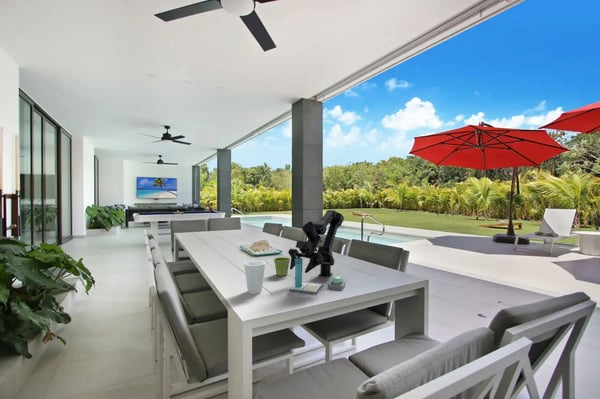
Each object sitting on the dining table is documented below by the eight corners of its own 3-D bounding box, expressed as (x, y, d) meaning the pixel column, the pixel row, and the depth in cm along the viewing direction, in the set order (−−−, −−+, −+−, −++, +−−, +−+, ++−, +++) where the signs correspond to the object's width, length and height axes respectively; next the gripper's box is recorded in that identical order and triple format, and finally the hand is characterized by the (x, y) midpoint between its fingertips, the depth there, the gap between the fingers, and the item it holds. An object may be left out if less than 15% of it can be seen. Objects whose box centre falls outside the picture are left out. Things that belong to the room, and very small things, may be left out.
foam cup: (250, 296, 124) (249, 266, 124) (241, 290, 131) (240, 262, 131) (269, 292, 129) (268, 263, 129) (259, 286, 137) (259, 259, 137)
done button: (333, 281, 140) (333, 276, 140) (342, 282, 138) (342, 276, 138) (331, 284, 135) (331, 278, 135) (340, 285, 134) (340, 279, 134)
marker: (295, 284, 136) (296, 257, 136) (303, 285, 136) (303, 258, 135) (294, 286, 133) (294, 259, 133) (301, 287, 132) (301, 259, 132)
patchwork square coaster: (298, 283, 142) (298, 280, 142) (323, 285, 138) (323, 283, 138) (288, 291, 130) (288, 289, 130) (315, 294, 126) (315, 292, 126)
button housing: (331, 283, 141) (331, 279, 141) (345, 285, 139) (345, 281, 139) (327, 288, 135) (327, 284, 135) (342, 289, 132) (342, 285, 132)
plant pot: (290, 277, 153) (289, 261, 152) (272, 277, 153) (272, 261, 153) (290, 272, 162) (290, 257, 162) (274, 272, 162) (274, 257, 162)
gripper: (290, 232, 143) (275, 258, 135) (320, 236, 132) (305, 264, 123) (300, 245, 150) (286, 271, 142) (330, 250, 138) (316, 278, 130)
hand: (297, 271), depth 134 cm, fingers open, 9 cm apart
